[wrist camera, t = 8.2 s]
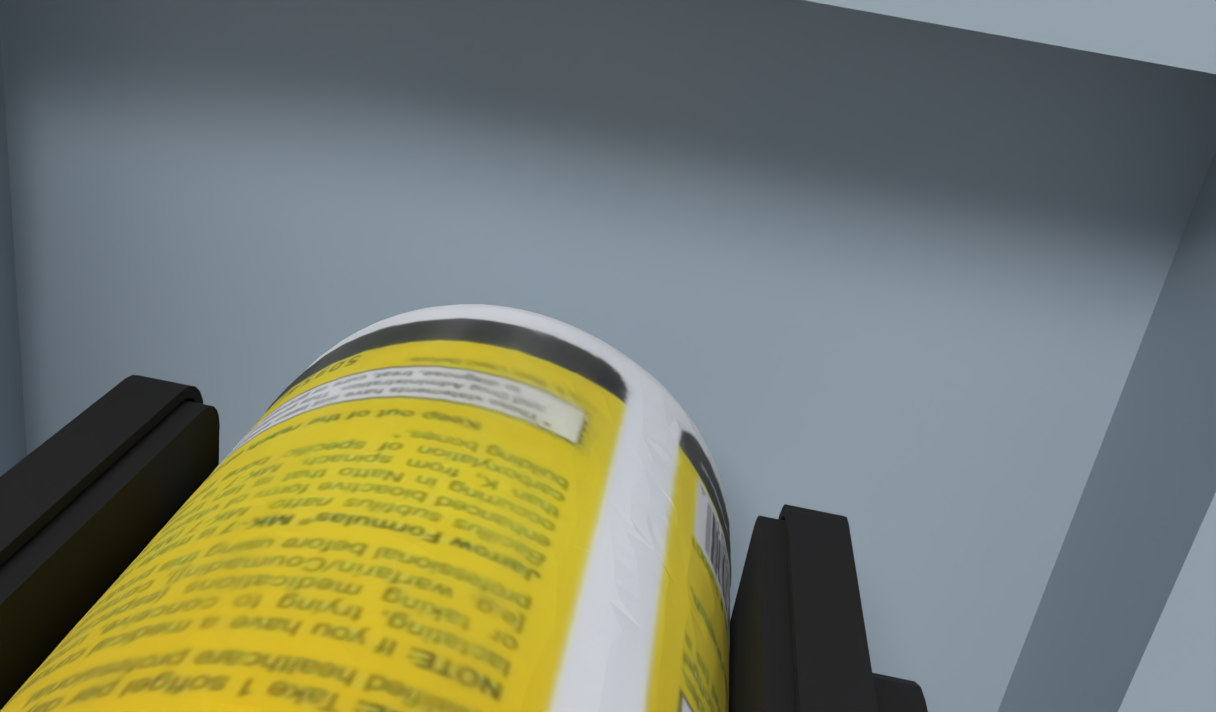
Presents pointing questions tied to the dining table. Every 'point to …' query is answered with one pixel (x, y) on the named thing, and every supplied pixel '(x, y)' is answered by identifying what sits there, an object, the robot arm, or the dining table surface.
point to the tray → (695, 267)
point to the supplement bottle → (430, 543)
